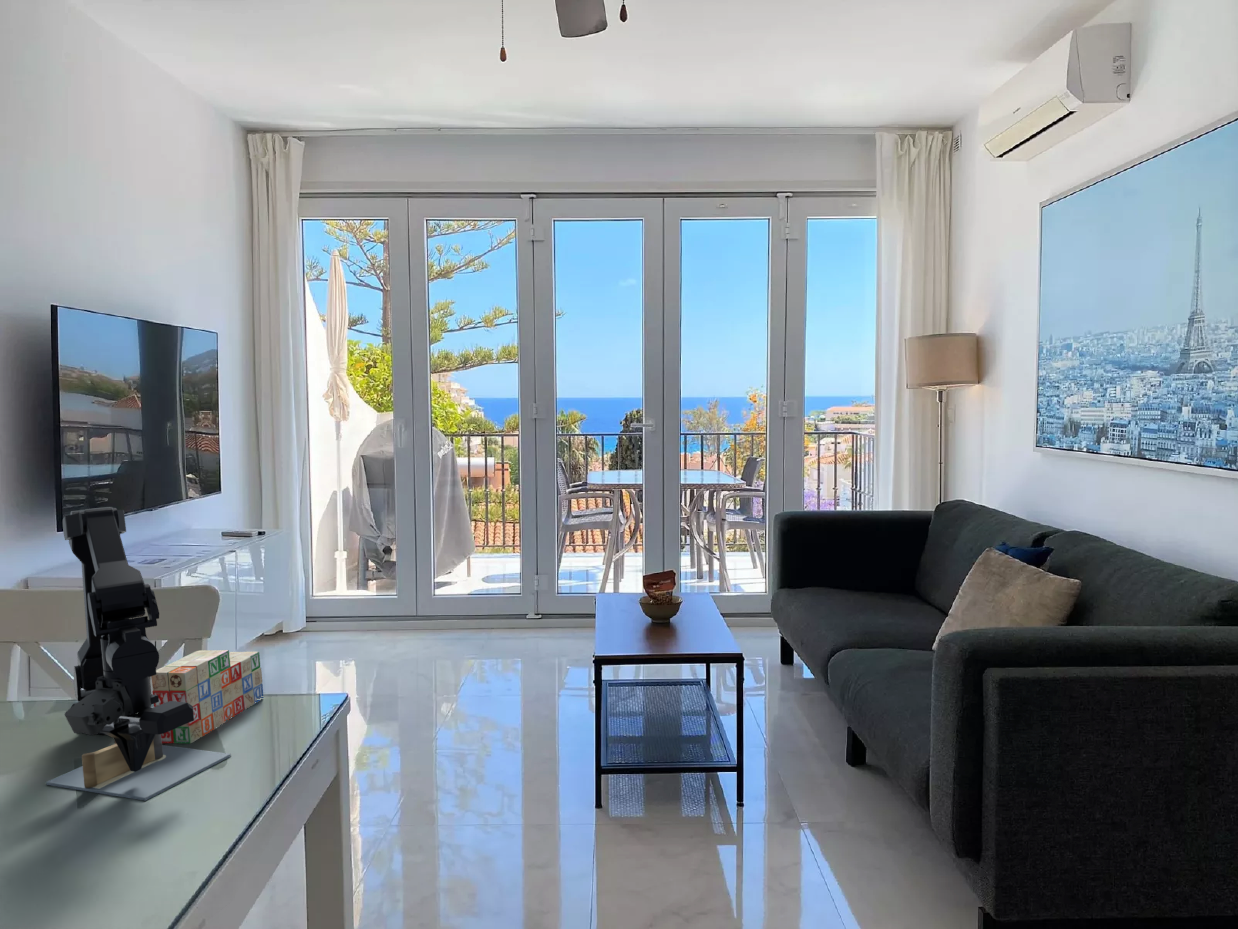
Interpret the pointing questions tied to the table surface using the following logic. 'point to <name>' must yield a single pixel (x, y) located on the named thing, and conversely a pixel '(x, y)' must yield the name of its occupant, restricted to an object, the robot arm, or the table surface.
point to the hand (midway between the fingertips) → (136, 770)
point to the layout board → (148, 774)
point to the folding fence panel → (113, 762)
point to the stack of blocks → (209, 689)
